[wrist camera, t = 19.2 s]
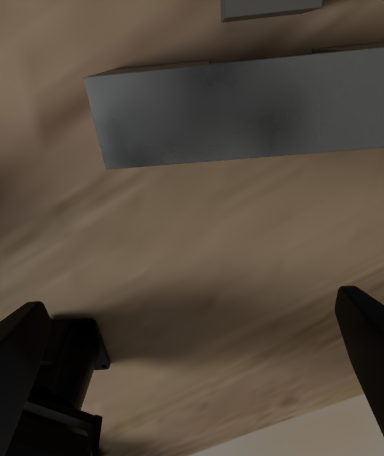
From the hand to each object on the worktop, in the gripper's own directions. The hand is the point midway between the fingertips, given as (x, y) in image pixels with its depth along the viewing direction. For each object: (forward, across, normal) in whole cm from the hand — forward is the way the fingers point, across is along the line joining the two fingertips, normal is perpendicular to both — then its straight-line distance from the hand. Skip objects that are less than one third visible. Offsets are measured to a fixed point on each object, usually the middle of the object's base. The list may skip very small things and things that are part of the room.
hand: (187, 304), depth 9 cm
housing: (+12, -4, -4) cm, 13 cm away
